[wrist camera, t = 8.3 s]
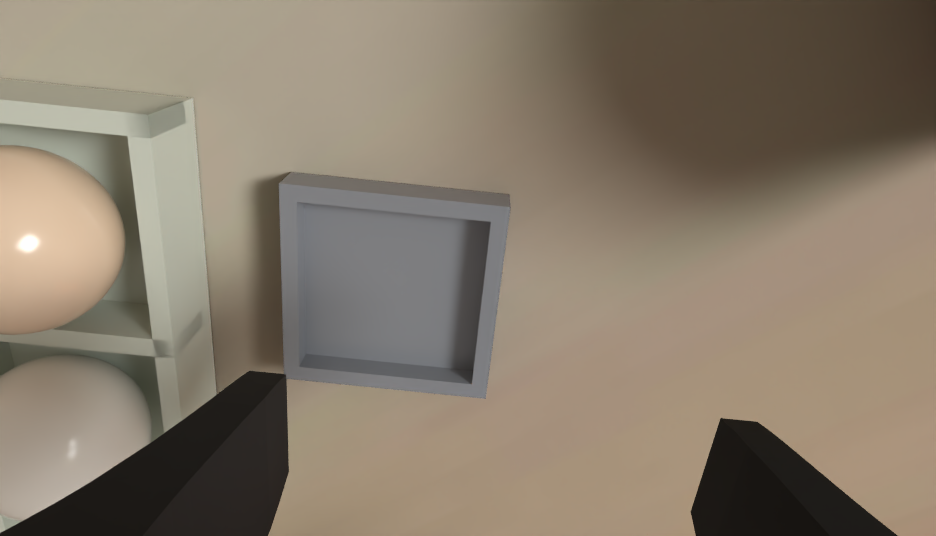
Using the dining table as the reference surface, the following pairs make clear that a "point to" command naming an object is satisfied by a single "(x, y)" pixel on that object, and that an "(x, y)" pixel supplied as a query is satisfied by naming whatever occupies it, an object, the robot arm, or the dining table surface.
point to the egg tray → (129, 239)
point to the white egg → (64, 428)
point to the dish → (390, 283)
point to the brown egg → (53, 240)
